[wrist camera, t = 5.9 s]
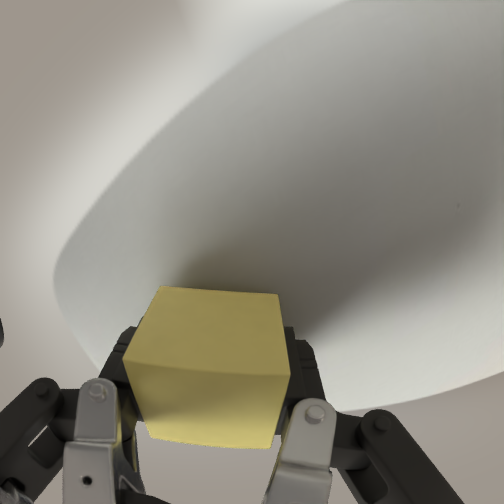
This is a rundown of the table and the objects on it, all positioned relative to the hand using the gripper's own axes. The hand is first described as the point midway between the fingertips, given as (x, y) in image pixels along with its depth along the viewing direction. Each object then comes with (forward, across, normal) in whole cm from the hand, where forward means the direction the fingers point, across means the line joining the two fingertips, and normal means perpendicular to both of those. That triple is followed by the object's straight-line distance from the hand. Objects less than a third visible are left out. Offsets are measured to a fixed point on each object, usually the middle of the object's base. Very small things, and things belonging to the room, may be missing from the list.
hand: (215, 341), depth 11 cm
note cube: (0, 0, 0) cm, 0 cm away
